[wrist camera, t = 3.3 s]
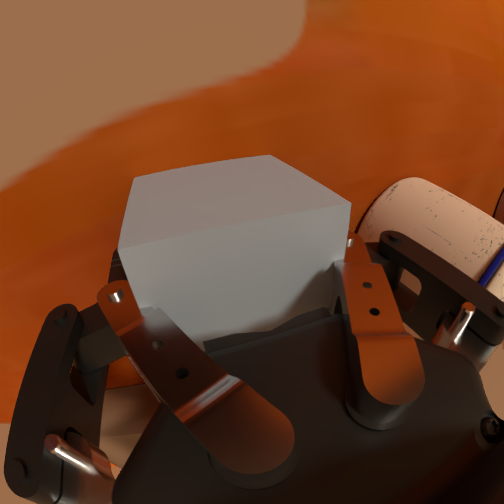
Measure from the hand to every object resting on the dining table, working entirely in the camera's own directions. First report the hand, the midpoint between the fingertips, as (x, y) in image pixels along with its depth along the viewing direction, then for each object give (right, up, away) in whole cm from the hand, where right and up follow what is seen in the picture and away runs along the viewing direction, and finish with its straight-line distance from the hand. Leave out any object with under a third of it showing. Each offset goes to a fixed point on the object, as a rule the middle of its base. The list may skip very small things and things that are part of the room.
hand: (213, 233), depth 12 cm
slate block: (0, 0, +1) cm, 1 cm away
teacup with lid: (+13, +1, +6) cm, 14 cm away
